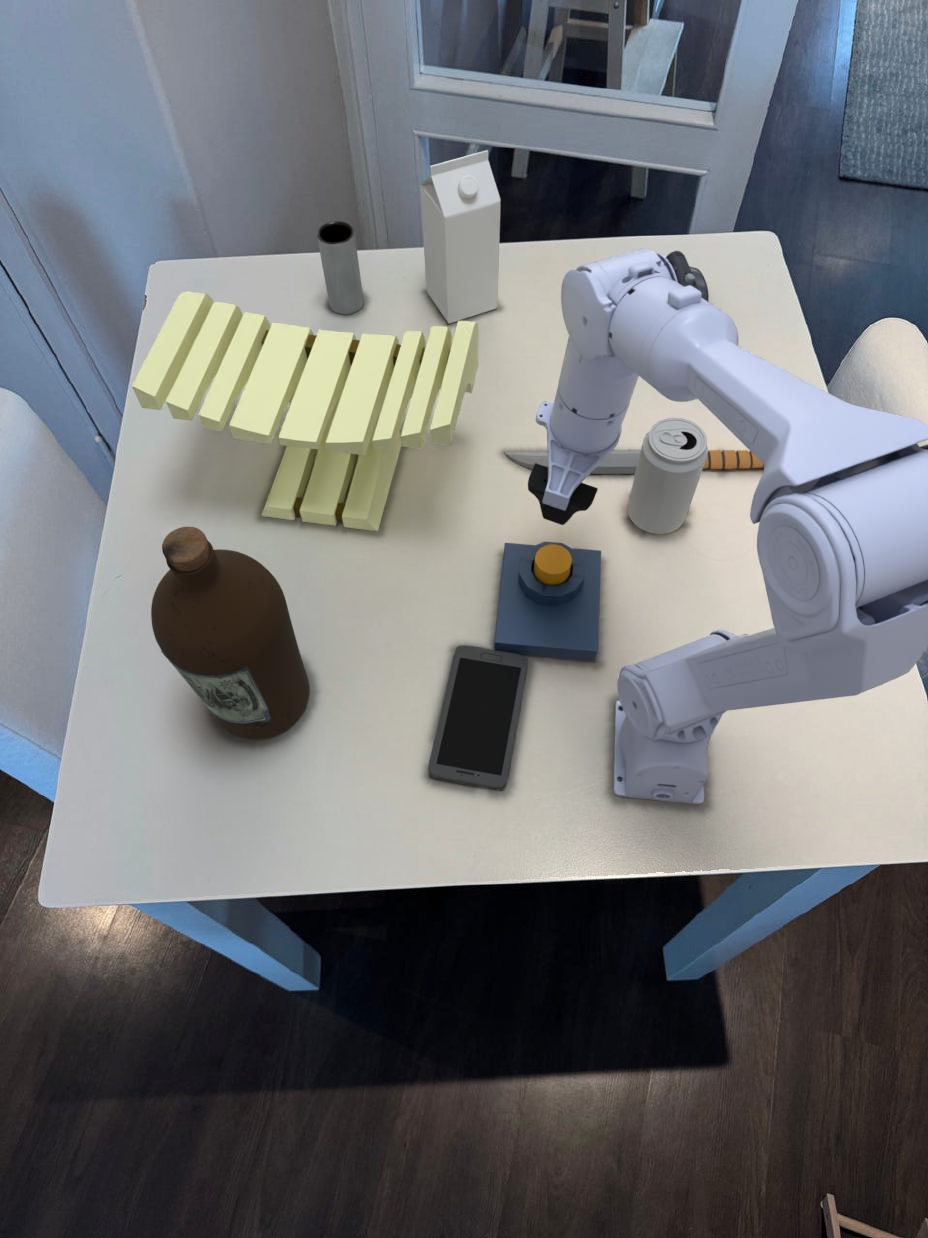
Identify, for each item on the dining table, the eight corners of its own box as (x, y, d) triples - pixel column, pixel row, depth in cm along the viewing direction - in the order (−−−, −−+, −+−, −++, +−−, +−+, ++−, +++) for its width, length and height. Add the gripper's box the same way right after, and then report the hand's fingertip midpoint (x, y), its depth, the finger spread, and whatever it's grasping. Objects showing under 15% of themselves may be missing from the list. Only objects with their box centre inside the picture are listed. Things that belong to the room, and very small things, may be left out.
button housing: (595, 662, 82) (600, 642, 79) (494, 653, 83) (494, 633, 79) (598, 562, 88) (603, 539, 85) (504, 554, 89) (505, 531, 86)
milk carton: (426, 292, 111) (417, 149, 94) (474, 276, 112) (474, 134, 96) (448, 325, 107) (443, 183, 91) (497, 308, 109) (502, 166, 93)
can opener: (646, 281, 111) (654, 243, 107) (698, 278, 112) (708, 240, 107) (670, 375, 102) (680, 338, 97) (727, 372, 102) (739, 335, 98)
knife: (504, 476, 94) (504, 441, 96) (504, 483, 95) (504, 448, 97) (778, 475, 92) (771, 439, 95) (775, 482, 93) (768, 447, 96)
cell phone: (529, 658, 82) (529, 655, 82) (505, 792, 75) (506, 789, 75) (456, 646, 83) (456, 642, 82) (426, 777, 76) (425, 775, 76)
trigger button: (568, 587, 83) (571, 575, 81) (532, 584, 83) (533, 572, 81) (570, 557, 84) (572, 545, 83) (535, 554, 85) (536, 542, 83)
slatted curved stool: (477, 432, 98) (478, 305, 83) (454, 541, 90) (450, 423, 75) (232, 402, 101) (189, 275, 85) (188, 506, 93) (131, 385, 77)
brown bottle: (229, 638, 84) (145, 474, 63) (330, 658, 83) (279, 498, 61) (189, 734, 79) (81, 591, 57) (295, 757, 78) (226, 620, 56)
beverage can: (682, 542, 90) (709, 467, 79) (622, 532, 90) (641, 457, 80) (686, 496, 93) (713, 418, 82) (628, 487, 93) (647, 409, 83)
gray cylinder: (322, 308, 109) (309, 237, 100) (341, 288, 111) (329, 216, 103) (352, 318, 108) (341, 247, 99) (370, 298, 110) (361, 226, 101)
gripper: (574, 307, 68) (551, 411, 80) (514, 445, 62) (499, 534, 75) (658, 333, 67) (621, 435, 79) (604, 476, 61) (574, 561, 74)
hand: (567, 485), depth 77 cm, fingers open, 7 cm apart
